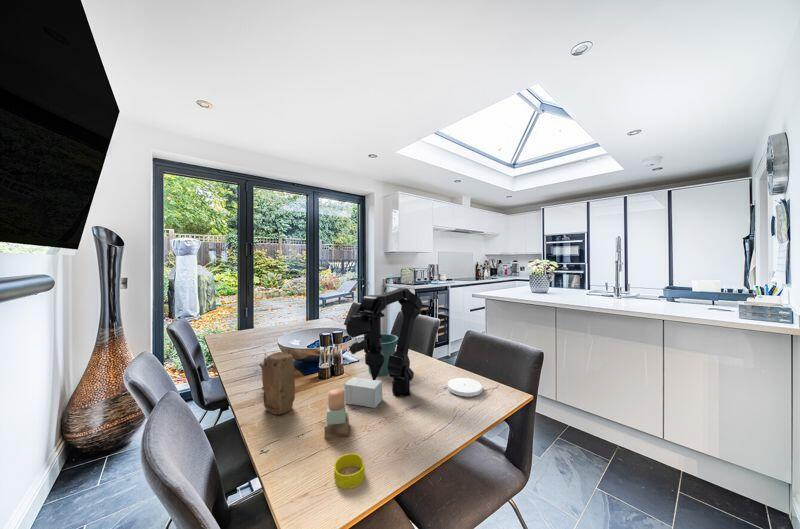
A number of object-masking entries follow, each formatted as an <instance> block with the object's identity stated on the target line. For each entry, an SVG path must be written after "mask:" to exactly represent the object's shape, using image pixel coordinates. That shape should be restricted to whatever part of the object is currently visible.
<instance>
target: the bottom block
mask: <svg viewBox="0 0 800 529" xmlns="http://www.w3.org/2000/svg"><path fill="white" fill-rule="evenodd" d="M349 415H350V414H349V412H348V411H347V412H345V423H341V424H332V425H327V415H326V417H325V421H324V429H323V430H324V439H325V440H327V439H338V438H344V437H345V438H347V437H349V427H350V425H349V424H350V422H349V421H350V420H349Z"/></svg>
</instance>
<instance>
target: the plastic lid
mask: <svg viewBox="0 0 800 529" xmlns="http://www.w3.org/2000/svg"><path fill="white" fill-rule="evenodd" d="M446 387H447V390H448V391H449V392H450V393H452V394H454V395H457V396H460V397H476V396H479V395H481V394H482V393H483V385H482V383H481V382H479V381H477V380H476V379H472V378H468V377H467V378H466V377H455V378H452V379H450V380H449V381H447V383H446Z"/></svg>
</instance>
